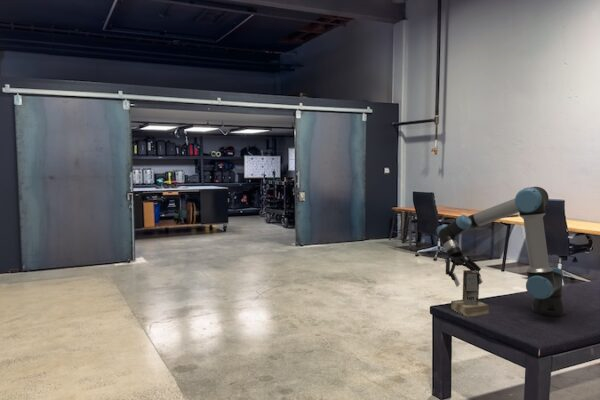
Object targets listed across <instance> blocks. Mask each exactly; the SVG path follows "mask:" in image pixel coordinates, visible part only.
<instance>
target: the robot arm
mask: <svg viewBox="0 0 600 400" xmlns="http://www.w3.org/2000/svg"><path fill="white" fill-rule="evenodd" d="M549 199H550V198H549V194H548V192H547V190H545V188H543V187H541V186H531V187H529V186H528V187H524V188H522V189H520V190H519V191H518V192H517V193H516V194H515V197H514V198H511V199H510V200H508V201H504V202H502V203H499V204H497V205H494V206H491V207H489V208H486V209H484V210H481V211H478V212H475V213H473V214H470V215H465V214H461V215H459V216H458V217H456V218H455V219H454V220H453V221H452V222H451V223H449V224H445V223H444V224H441V225H439V226H438V227H437V228H436V235H437V237H438V238H439V241H440V242H441V245H442V246H443V247H442V248H443V249H444V251H445V253H446V256H447V257H446V258H445V260H444V262H445V275H446V276H448V277H450V278H451V280H452V281H453V282H454V284H455V286H456V288H457V287H459V286H460V285H461V283H460V281H459V280H460V279H458V277H457V274H456V272H455V268H456V267H458V266H459V267H460V266H462V267H465V268H467V270H475V271H477V272H478V273H479V274H480V275H479V285H481V284H483V283H484V281H483V280H482V275H481V273H480V272H481V270H482V268H481V267H480V266H479V265H478V264H477V263H475V262H474V260H473V259H471V257H470V256H469V255H466V256H464V255H463V251H462V249H461V247H460V245H459V244H458V242H457V237H458V236H459V235H460V234H462V233H464V232H467V231H470V230H474V229H476V228H479V227H482V226H485V225H487V224H490V223H493V222H497V221H498V220H501V219H505V218H507V217H510V216H512V215H513V216H514V215H515V214H518V213H519V217H520V218H522V219H523V225H524V227H523V228H524V233H525V242H526V248H527V256H528V264H529V265H528V266H529V267H528V269H526V275H527V280H526V282H525V289H526V291H527V293H528V294H529V295H530V296H531V297H532V298H534V301H533V302H532V305H531V306H532V307H531V308H532V309H531V311H532V312H533V313H535V314H539V315H542V316H551V317H561V316H564V315H566V307H565V304H564V300H563V278H564V275H563V273H564V272H563V270H562V268H557V267H553V266H552V267H551V266H550V262H549V255H548V248H547V239H546V232H545V225H544V219H543V218H544V216H545V215H546V214H547V213H546V206H547V204H548V202H549ZM451 263H452V265H451Z"/></svg>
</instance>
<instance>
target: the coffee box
mask: <svg viewBox="0 0 600 400" xmlns="http://www.w3.org/2000/svg"><path fill="white" fill-rule="evenodd" d="M462 271H463V273H462V274H463V275H462V276H463V277H462V300H463V301H464V303H465V304H466V305H478V301H479V295H480V294H479V293H480V284H479V275H481V273H480V272H479V273H480V274H479V273H478V272H477V271H476V270H470V269H467V270H465V269H463V270H462Z"/></svg>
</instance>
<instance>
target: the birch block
mask: <svg viewBox="0 0 600 400" xmlns="http://www.w3.org/2000/svg"><path fill="white" fill-rule="evenodd" d="M450 307H451V308H450V310H451V311H453V310H454V311H453V312H455V311H456V312H455V313H457V312H458V314H460V315H462V314H463V315H462V316H464V317H466V316H467V317H466V318H469V317H470V316H471V317H478V316H486V315H489V314H490V312H489V311H490V310H489V309H490V307H489V304H486V303H484V302H482V301H479V300H478V305H466V304H465V303H464V301H463V299H457V300H451V301H450Z"/></svg>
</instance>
